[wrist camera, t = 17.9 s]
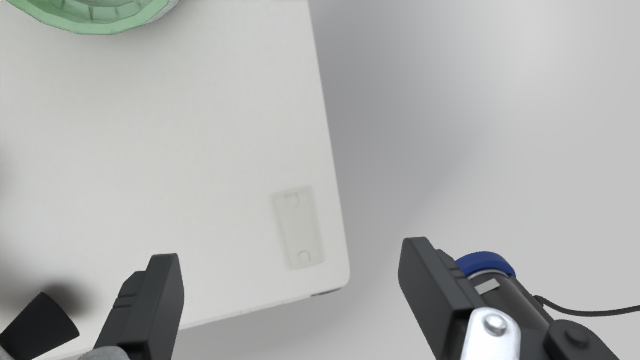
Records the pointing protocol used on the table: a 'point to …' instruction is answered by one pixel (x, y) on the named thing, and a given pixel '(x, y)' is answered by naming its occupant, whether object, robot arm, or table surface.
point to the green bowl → (95, 13)
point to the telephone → (36, 330)
